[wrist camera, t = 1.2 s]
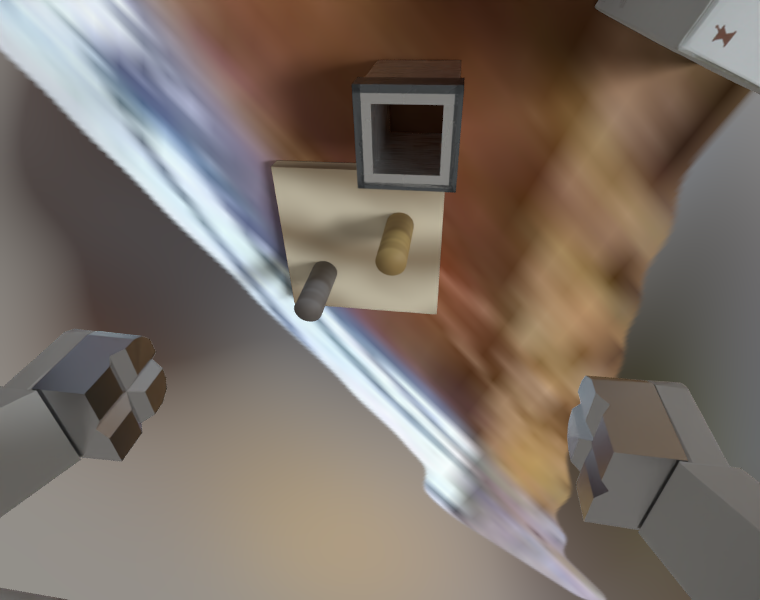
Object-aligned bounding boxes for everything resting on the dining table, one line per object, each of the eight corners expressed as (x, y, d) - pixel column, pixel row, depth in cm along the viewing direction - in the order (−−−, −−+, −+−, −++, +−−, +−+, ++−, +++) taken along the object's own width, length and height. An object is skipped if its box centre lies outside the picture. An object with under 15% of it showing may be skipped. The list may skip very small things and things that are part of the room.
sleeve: (374, 56, 28) (351, 84, 23) (465, 56, 27) (464, 85, 22) (377, 145, 31) (357, 188, 26) (457, 147, 31) (455, 192, 25)
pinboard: (276, 160, 33) (243, 198, 28) (446, 166, 31) (441, 207, 27) (298, 295, 40) (275, 343, 36) (437, 305, 39) (432, 357, 34)
